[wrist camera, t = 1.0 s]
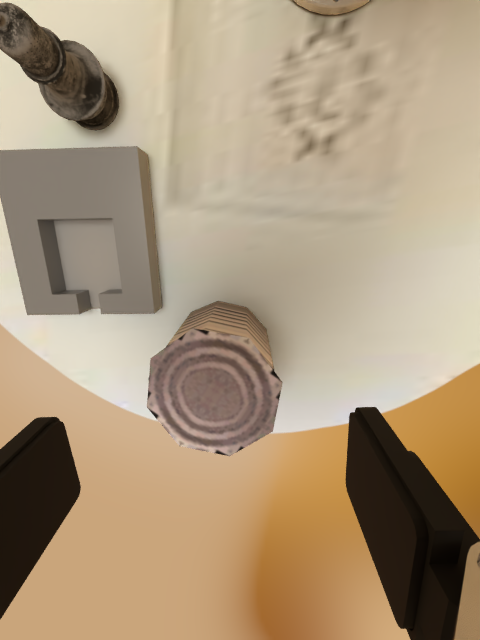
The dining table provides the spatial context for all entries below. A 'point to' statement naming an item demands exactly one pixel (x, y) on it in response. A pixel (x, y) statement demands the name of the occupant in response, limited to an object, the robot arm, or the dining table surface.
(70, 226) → the plate
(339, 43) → the dining table surface
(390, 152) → the dining table surface
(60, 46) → the dark chess piece
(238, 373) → the can
